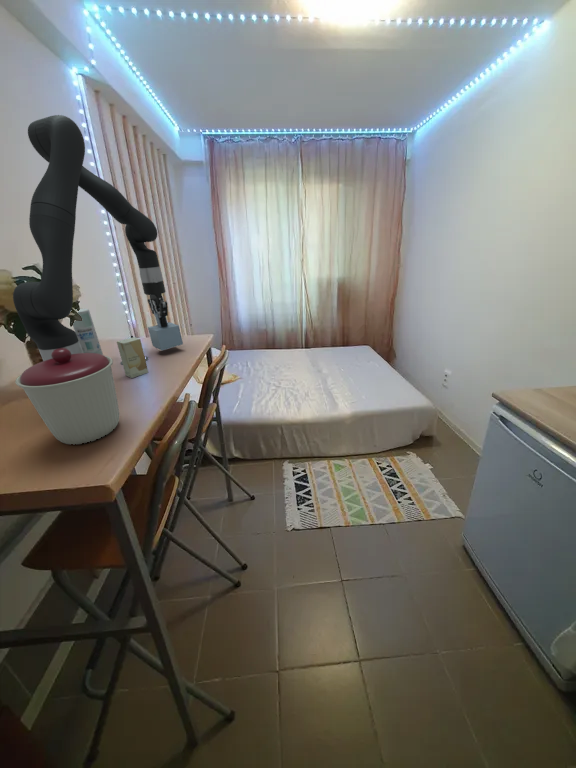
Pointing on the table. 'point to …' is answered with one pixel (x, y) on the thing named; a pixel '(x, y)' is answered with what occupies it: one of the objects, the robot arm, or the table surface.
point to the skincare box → (132, 357)
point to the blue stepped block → (165, 335)
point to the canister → (73, 395)
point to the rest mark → (145, 359)
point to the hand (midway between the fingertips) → (162, 325)
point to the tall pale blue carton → (87, 333)
